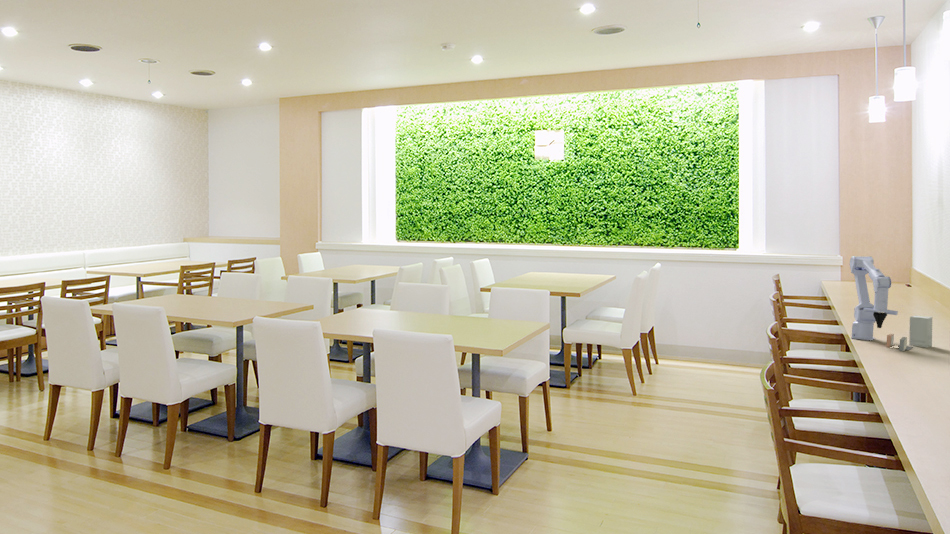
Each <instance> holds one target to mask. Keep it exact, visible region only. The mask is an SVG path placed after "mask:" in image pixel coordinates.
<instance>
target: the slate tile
mask: <svg viewBox="0 0 950 534" xmlns="http://www.w3.org/2000/svg"><path fill="white" fill-rule="evenodd" d="M907 341H908V338H907V337H906V336H902V337H901V338H900V339H899V345H900V349H898V350H899V351H898V352H901V351H902V352H903V351H904V352H905V351H907V350H906V347H907V346H908V345H907V343H908V342H907ZM904 352H903V353H904Z"/></svg>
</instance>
